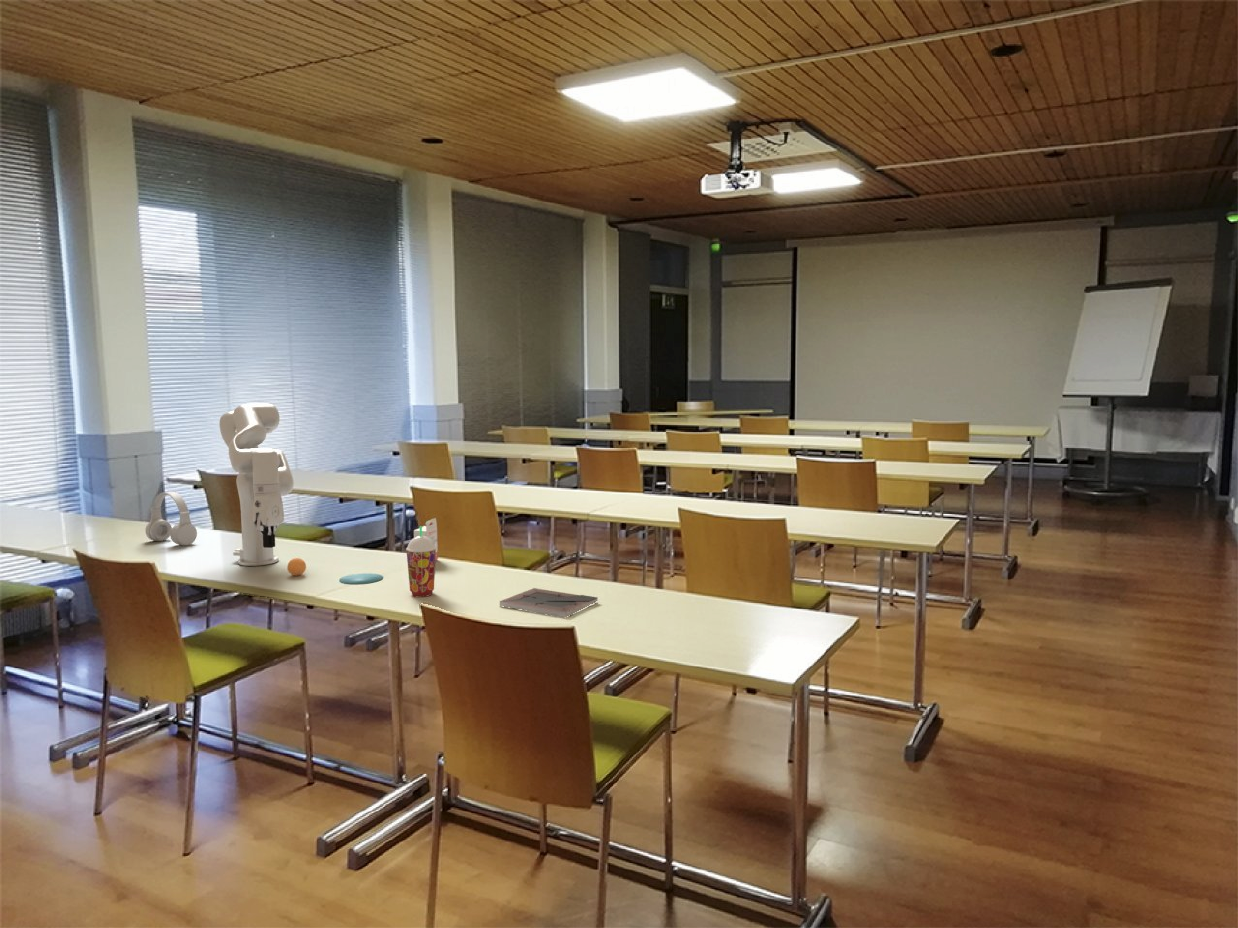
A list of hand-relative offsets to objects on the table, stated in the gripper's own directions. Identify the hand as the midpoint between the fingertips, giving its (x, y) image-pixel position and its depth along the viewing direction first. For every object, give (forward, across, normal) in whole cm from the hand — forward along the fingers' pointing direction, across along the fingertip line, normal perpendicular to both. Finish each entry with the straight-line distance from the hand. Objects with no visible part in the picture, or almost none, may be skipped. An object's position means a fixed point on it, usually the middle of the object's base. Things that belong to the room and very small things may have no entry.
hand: (269, 547), depth 267 cm
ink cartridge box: (+9, +27, -41) cm, 50 cm away
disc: (+10, +1, -31) cm, 32 cm away
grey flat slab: (+12, -15, -96) cm, 98 cm away
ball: (+6, +1, -9) cm, 11 cm away
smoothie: (+11, -12, -57) cm, 59 cm away
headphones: (+7, +37, +65) cm, 75 cm away
